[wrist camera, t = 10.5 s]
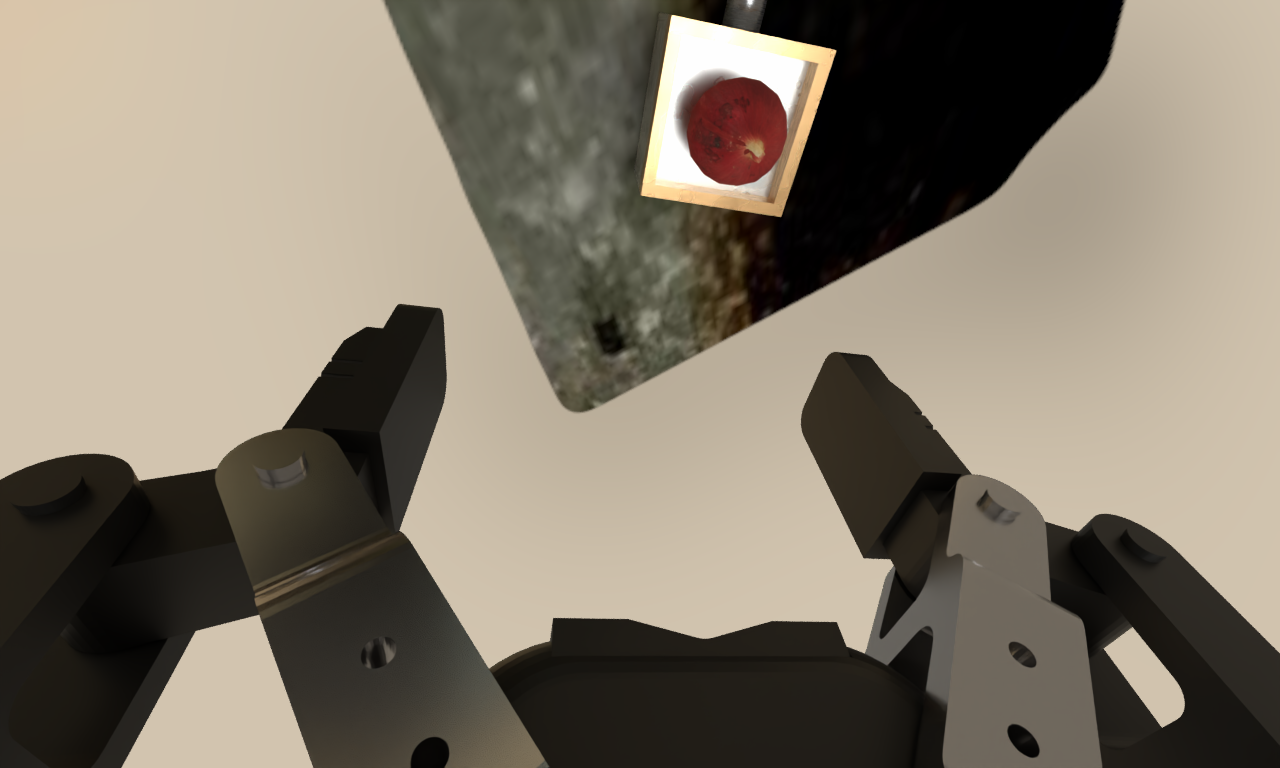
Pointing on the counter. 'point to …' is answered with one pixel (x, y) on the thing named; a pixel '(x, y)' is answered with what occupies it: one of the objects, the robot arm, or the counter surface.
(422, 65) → the counter surface
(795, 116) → the wooden tray
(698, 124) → the onion
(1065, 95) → the counter surface
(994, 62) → the counter surface
